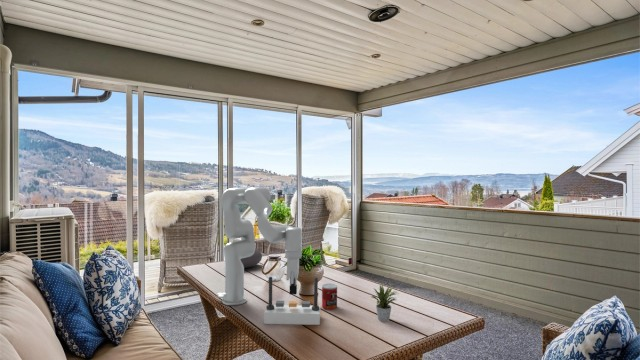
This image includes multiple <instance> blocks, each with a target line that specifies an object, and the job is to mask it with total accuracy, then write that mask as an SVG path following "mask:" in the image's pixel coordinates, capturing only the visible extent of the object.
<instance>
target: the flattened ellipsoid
mask: <svg viewBox="0 0 640 360" xmlns="http://www.w3.org/2000/svg"><path fill="white" fill-rule="evenodd" d="M262 259H263V254H262V252H261V250H259V249H258V248H256V247H255V252H254V254H253V255H252V256H249V257H246V258H242V259H241V262H242V264H243V266H244V269H248V268H252V267H255V266H256V265H258V264H259V263H260V262H261V261H262Z"/></svg>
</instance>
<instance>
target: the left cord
mask: <svg viewBox="0 0 640 360" xmlns="http://www.w3.org/2000/svg"><path fill="white" fill-rule="evenodd" d="M274 305H275V304H273V277H272V276H269V277H268V304H267V305H266V306H265V307H266V308H265V310H266V309H267V310H273V309H274Z"/></svg>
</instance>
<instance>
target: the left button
mask: <svg viewBox="0 0 640 360" xmlns="http://www.w3.org/2000/svg"><path fill="white" fill-rule="evenodd" d="M275 305H276V307H284V305H285V300H276V302H275Z"/></svg>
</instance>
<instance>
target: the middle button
mask: <svg viewBox="0 0 640 360" xmlns="http://www.w3.org/2000/svg"><path fill="white" fill-rule="evenodd" d="M288 305H289V307H297V305H298V300H289V302H288Z"/></svg>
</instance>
